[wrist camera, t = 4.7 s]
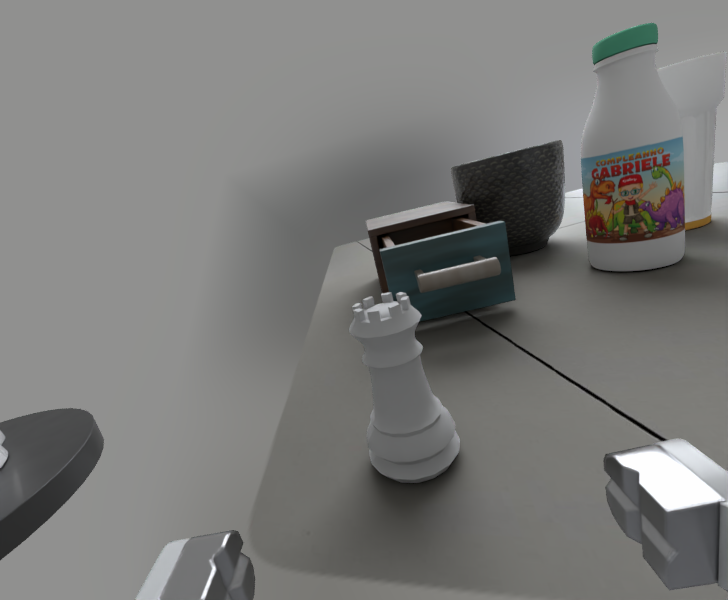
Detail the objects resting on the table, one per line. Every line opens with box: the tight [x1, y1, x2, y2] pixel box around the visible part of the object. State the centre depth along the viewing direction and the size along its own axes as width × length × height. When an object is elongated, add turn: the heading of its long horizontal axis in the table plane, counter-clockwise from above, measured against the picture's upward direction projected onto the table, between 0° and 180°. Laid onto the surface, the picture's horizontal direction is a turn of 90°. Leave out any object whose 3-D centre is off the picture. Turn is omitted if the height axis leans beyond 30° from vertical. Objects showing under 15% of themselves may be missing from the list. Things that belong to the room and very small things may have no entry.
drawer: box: [380, 217, 515, 322], centre depth 37 cm, size 18×10×7 cm, turn 2°
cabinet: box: [366, 202, 477, 293], centre depth 49 cm, size 15×12×9 cm
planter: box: [451, 140, 565, 255], centre depth 53 cm, size 14×14×13 cm
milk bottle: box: [581, 23, 685, 271], centre depth 35 cm, size 8×8×20 cm
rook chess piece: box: [349, 292, 460, 483], centre depth 18 cm, size 4×4×8 cm
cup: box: [657, 52, 727, 230], centre depth 46 cm, size 11×11×17 cm
